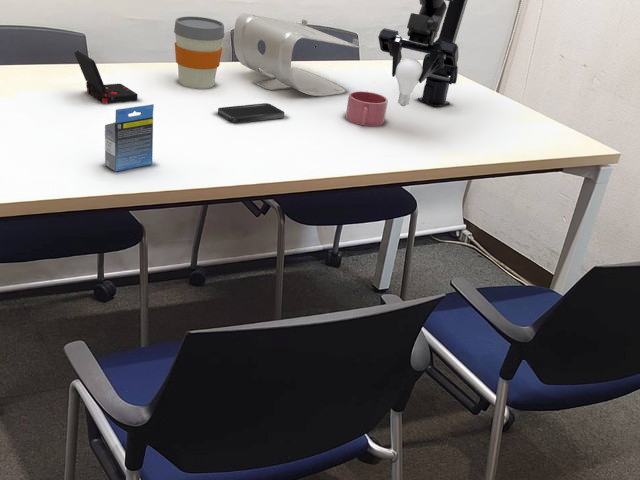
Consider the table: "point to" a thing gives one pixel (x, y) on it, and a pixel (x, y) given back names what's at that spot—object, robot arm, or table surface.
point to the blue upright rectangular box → (129, 139)
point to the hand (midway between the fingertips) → (406, 78)
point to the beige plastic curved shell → (281, 53)
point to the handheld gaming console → (96, 86)
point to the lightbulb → (407, 78)
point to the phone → (250, 112)
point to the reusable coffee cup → (198, 50)
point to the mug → (366, 108)
